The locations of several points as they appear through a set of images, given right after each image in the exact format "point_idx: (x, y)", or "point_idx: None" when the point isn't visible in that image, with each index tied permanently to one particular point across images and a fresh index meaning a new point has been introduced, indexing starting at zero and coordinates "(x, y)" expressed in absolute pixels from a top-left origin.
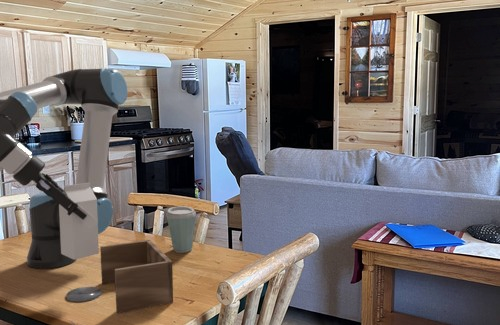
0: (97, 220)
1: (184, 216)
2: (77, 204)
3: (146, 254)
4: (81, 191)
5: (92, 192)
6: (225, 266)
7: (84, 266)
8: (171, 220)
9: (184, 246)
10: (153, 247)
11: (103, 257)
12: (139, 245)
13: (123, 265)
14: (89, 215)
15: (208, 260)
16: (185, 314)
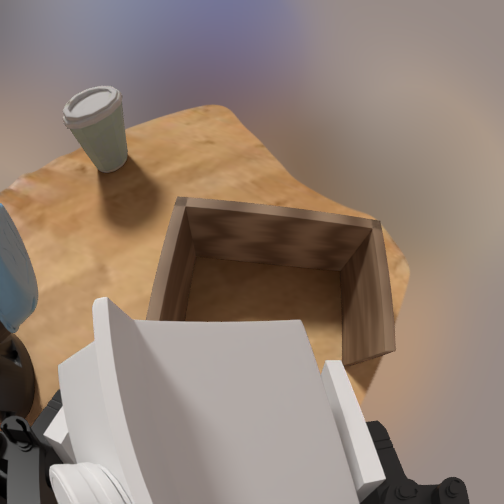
0: (340, 363)
1: (116, 103)
2: (412, 486)
3: (189, 229)
4: (242, 479)
5: (237, 332)
6: (233, 141)
7: (55, 341)
8: (93, 127)
9: (123, 153)
10: (252, 211)
11: None
12: (181, 229)
13: (180, 292)
14: (354, 405)
15: (188, 148)
16: (393, 266)
